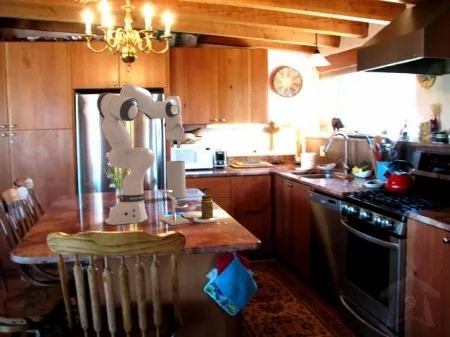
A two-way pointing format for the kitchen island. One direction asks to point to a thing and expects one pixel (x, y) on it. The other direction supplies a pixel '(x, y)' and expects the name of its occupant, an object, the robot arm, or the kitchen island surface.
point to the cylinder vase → (176, 179)
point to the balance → (174, 219)
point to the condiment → (206, 207)
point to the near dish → (206, 220)
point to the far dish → (192, 214)
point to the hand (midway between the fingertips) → (175, 147)
